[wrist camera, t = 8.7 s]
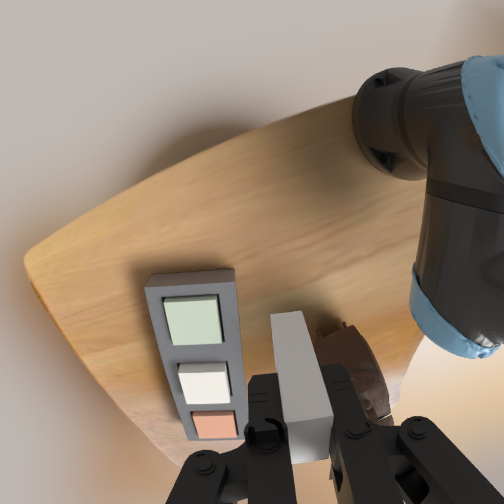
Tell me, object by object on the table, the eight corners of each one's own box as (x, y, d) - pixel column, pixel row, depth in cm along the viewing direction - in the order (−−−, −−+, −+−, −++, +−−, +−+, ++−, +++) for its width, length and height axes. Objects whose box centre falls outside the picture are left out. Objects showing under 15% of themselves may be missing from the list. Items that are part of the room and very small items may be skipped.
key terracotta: (232, 402, 46) (232, 415, 43) (236, 424, 48) (236, 437, 45) (194, 403, 46) (192, 416, 43) (200, 426, 48) (199, 438, 45)
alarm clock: (298, 321, 43) (334, 430, 25) (344, 301, 43) (404, 397, 24) (326, 383, 48) (360, 479, 29) (365, 366, 47) (411, 455, 29)
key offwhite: (225, 357, 42) (224, 371, 39) (230, 389, 44) (229, 403, 41) (180, 359, 41) (178, 373, 39) (188, 390, 44) (186, 404, 41)
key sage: (217, 288, 39) (215, 299, 36) (222, 330, 41) (221, 343, 38) (168, 291, 39) (163, 302, 36) (176, 332, 41) (173, 345, 38)
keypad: (234, 268, 40) (234, 281, 36) (250, 422, 51) (251, 438, 47) (151, 274, 40) (143, 287, 36) (190, 424, 50) (188, 440, 46)
